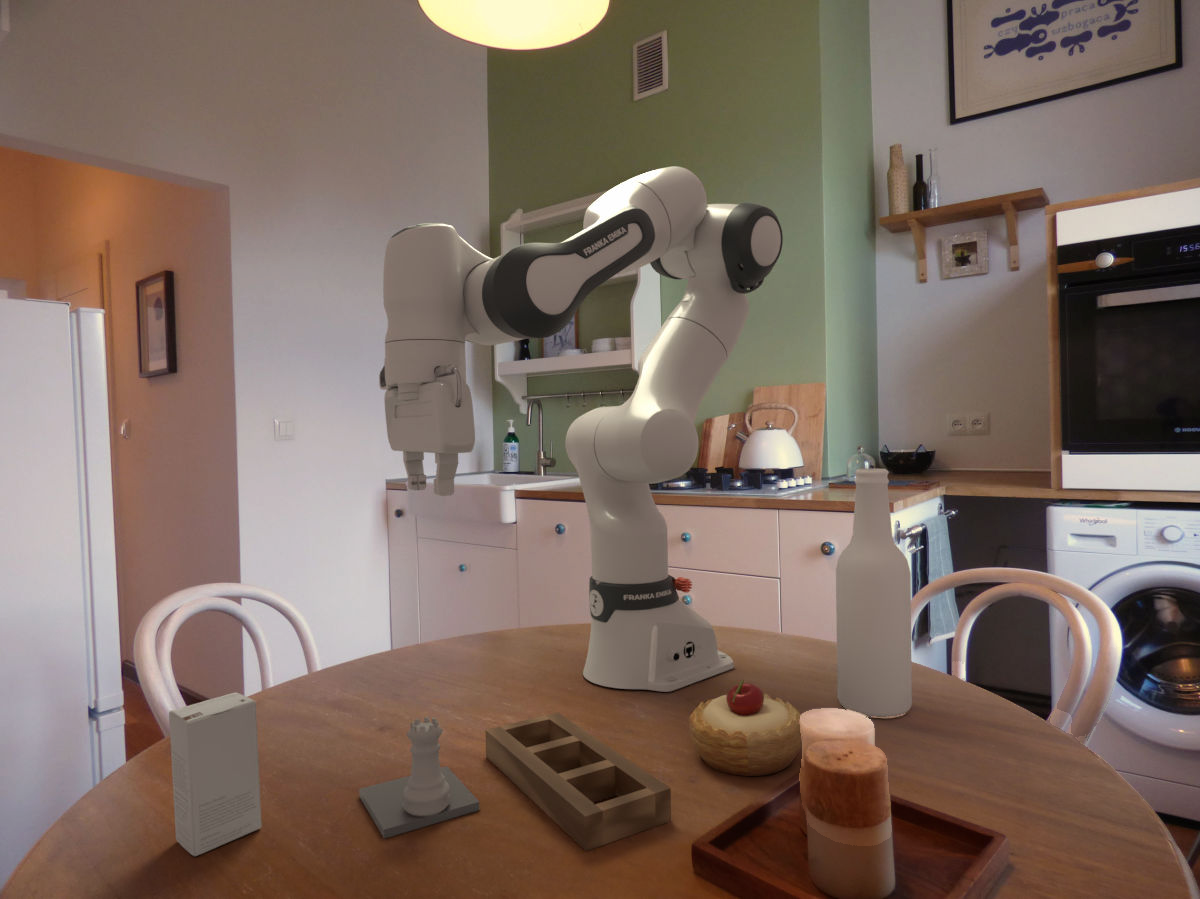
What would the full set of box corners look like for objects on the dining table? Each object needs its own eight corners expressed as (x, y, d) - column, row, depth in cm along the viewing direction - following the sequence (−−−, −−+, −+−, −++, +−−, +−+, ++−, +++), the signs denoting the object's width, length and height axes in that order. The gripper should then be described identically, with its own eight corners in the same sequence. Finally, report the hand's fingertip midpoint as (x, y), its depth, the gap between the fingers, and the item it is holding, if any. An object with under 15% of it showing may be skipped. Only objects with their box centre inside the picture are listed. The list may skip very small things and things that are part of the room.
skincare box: (241, 815, 71) (237, 688, 71) (264, 830, 68) (259, 699, 68) (171, 843, 67) (166, 708, 66) (192, 861, 64) (187, 720, 63)
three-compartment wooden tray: (558, 737, 87) (557, 712, 87) (671, 820, 69) (670, 788, 68) (486, 756, 83) (485, 729, 83) (585, 851, 64) (585, 816, 64)
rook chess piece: (442, 820, 68) (439, 732, 68) (394, 817, 69) (392, 731, 68) (457, 796, 72) (455, 713, 72) (412, 794, 73) (410, 712, 73)
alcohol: (927, 714, 92) (925, 469, 91) (869, 725, 89) (866, 472, 88) (878, 691, 100) (876, 466, 99) (823, 700, 97) (820, 469, 96)
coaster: (447, 773, 79) (446, 766, 79) (479, 810, 71) (479, 801, 71) (359, 796, 74) (359, 788, 74) (384, 838, 67) (383, 829, 67)
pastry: (807, 742, 85) (806, 664, 85) (799, 790, 74) (798, 701, 74) (702, 730, 89) (701, 655, 89) (679, 774, 78) (678, 689, 77)
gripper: (488, 362, 77) (492, 496, 78) (425, 376, 95) (428, 485, 95) (428, 361, 74) (432, 501, 75) (374, 375, 92) (378, 489, 92)
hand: (430, 492), depth 85 cm, fingers open, 8 cm apart
